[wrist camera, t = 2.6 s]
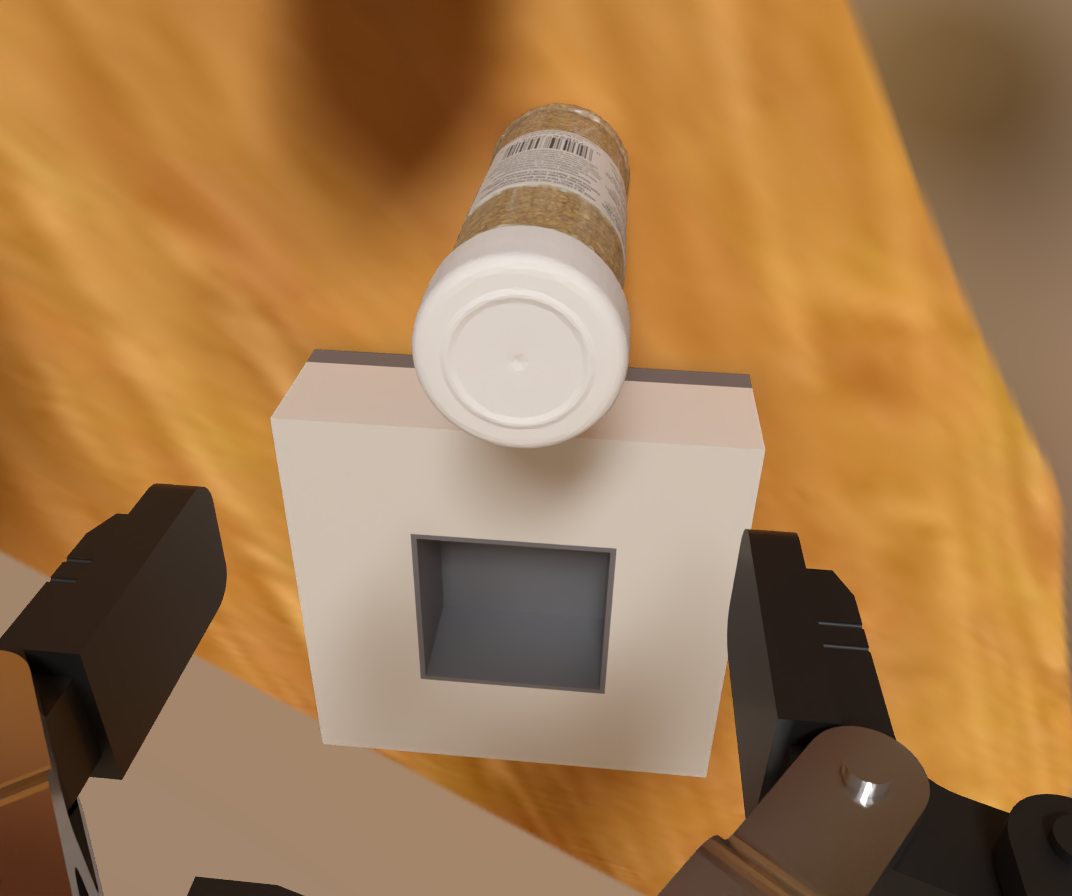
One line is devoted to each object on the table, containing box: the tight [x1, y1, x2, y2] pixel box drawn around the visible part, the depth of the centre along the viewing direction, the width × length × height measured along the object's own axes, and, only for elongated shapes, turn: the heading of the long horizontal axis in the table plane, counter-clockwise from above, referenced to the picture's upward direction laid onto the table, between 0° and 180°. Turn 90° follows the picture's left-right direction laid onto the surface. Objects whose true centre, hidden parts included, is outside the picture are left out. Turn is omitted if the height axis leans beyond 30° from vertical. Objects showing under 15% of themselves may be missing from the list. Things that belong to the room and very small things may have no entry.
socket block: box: [270, 349, 765, 778], centre depth 36 cm, size 16×16×5 cm
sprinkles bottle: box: [412, 103, 630, 448], centre depth 25 cm, size 5×5×14 cm
